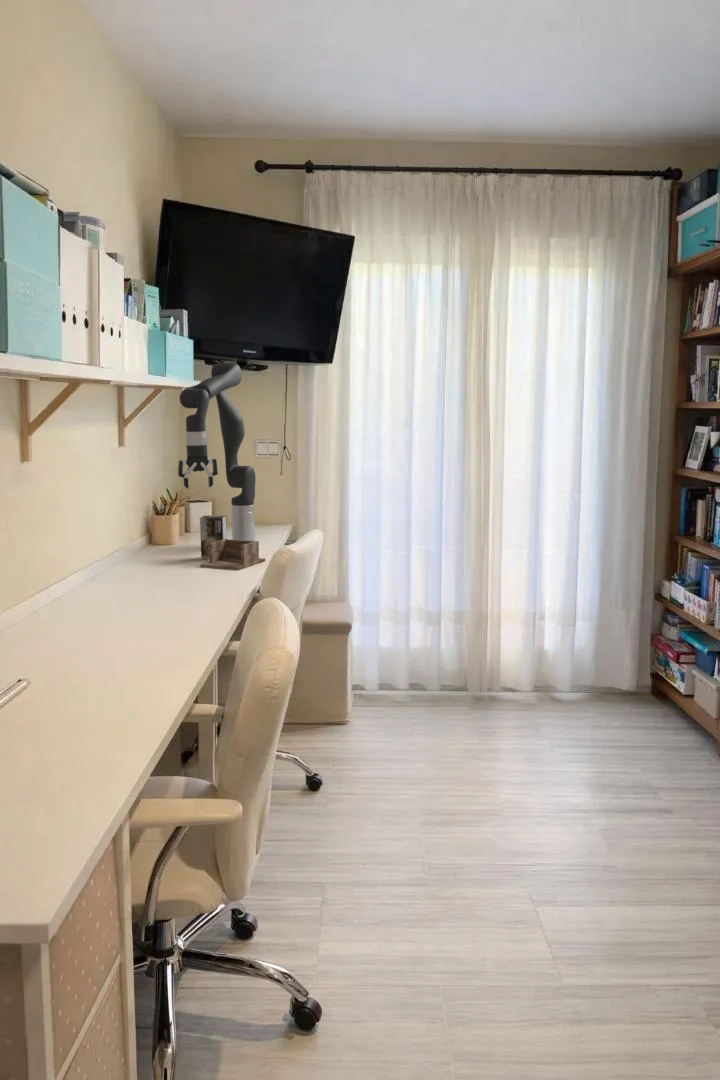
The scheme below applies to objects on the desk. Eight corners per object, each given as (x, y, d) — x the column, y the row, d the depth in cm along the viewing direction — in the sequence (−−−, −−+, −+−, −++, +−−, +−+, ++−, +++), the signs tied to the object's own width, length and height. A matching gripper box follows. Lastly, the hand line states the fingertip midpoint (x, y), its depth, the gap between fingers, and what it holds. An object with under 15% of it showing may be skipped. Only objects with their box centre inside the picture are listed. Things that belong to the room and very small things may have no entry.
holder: (228, 558, 343) (227, 537, 341) (265, 561, 337) (265, 540, 336) (200, 567, 324) (199, 545, 323) (239, 570, 318) (238, 547, 317)
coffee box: (228, 556, 346) (227, 515, 344) (223, 559, 340) (223, 517, 338) (205, 556, 347) (204, 515, 345) (200, 559, 341) (199, 517, 339)
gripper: (213, 442, 336) (215, 485, 339) (175, 443, 332) (177, 487, 334) (217, 443, 330) (219, 487, 332) (178, 445, 325) (181, 489, 328)
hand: (198, 487), depth 333 cm, fingers open, 8 cm apart
